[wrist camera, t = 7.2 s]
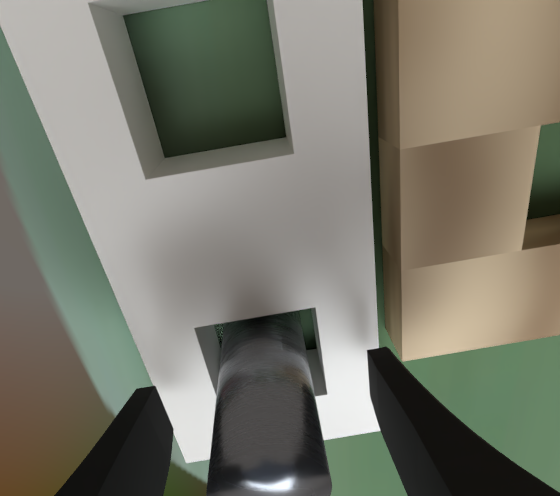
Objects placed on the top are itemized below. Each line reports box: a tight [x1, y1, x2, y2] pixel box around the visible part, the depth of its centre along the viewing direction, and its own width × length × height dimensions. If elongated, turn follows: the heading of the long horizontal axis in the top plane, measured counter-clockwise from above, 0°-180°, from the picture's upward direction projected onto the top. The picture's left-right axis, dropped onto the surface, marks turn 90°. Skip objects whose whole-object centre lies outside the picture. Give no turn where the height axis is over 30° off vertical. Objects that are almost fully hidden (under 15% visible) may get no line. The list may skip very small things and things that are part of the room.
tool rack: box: [0, 0, 381, 463], centre depth 12 cm, size 8×18×2 cm, turn 9°
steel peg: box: [207, 310, 332, 496], centre depth 12 cm, size 3×3×7 cm
